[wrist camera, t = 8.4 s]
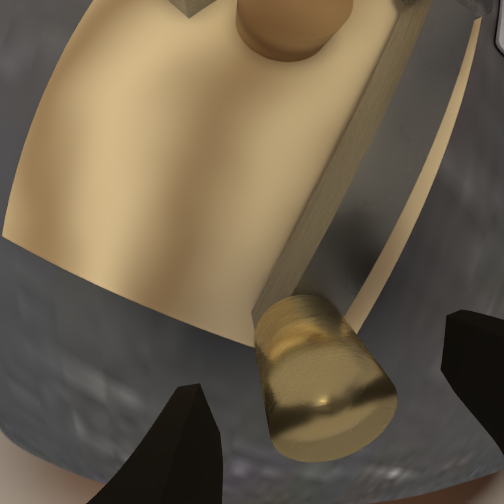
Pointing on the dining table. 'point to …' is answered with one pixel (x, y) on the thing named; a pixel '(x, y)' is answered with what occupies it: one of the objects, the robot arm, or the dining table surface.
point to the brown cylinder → (290, 26)
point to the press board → (197, 156)
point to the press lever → (354, 243)
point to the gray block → (191, 6)
